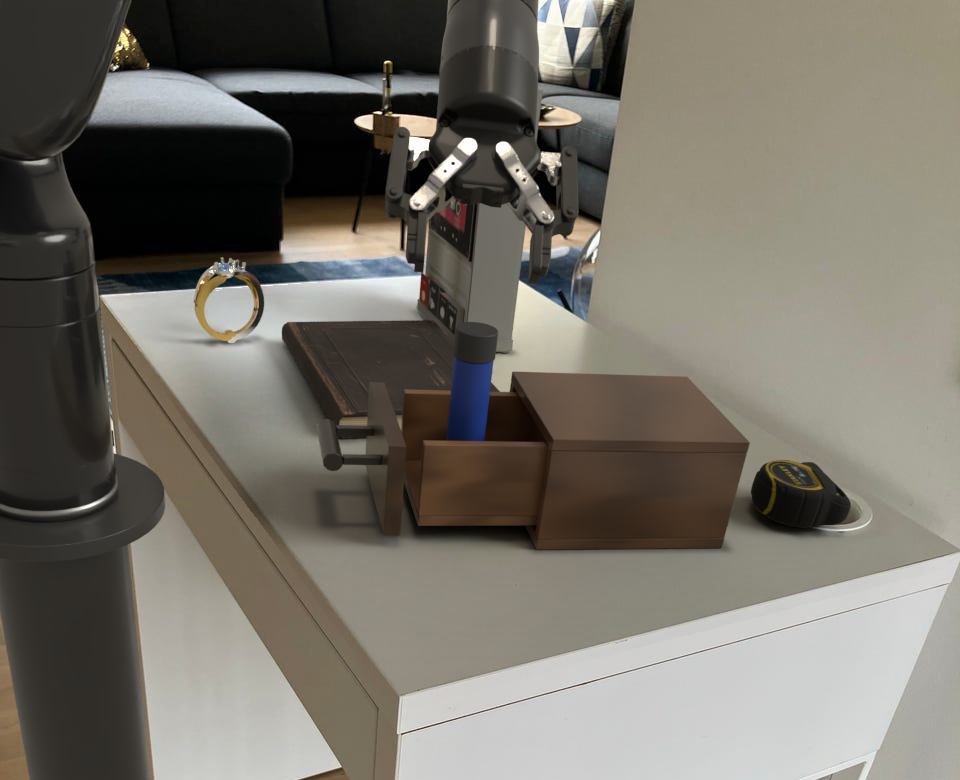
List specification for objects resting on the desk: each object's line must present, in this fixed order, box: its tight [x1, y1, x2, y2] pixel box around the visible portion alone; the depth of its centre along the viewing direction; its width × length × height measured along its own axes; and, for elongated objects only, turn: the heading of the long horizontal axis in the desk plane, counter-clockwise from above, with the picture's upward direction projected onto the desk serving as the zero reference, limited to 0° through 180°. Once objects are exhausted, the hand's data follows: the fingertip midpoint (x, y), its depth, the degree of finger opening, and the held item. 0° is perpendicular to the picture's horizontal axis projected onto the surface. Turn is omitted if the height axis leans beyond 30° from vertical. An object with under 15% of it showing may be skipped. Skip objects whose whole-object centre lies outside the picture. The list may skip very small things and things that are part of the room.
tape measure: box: [750, 459, 852, 529], centre depth 86 cm, size 7×7×4 cm
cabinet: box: [509, 371, 751, 550], centre depth 82 cm, size 15×13×9 cm
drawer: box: [316, 382, 549, 536], centre depth 79 cm, size 18×12×7 cm, turn 101°
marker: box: [446, 322, 498, 441], centre depth 77 cm, size 3×3×12 cm
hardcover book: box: [281, 319, 501, 440], centre depth 100 cm, size 16×23×2 cm
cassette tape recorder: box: [416, 87, 544, 354], centre depth 109 cm, size 14×6×25 cm, turn 21°
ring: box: [193, 257, 265, 344], centre depth 104 cm, size 7×3×8 cm, turn 120°
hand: (477, 273), depth 78 cm, fingers open, 8 cm apart
